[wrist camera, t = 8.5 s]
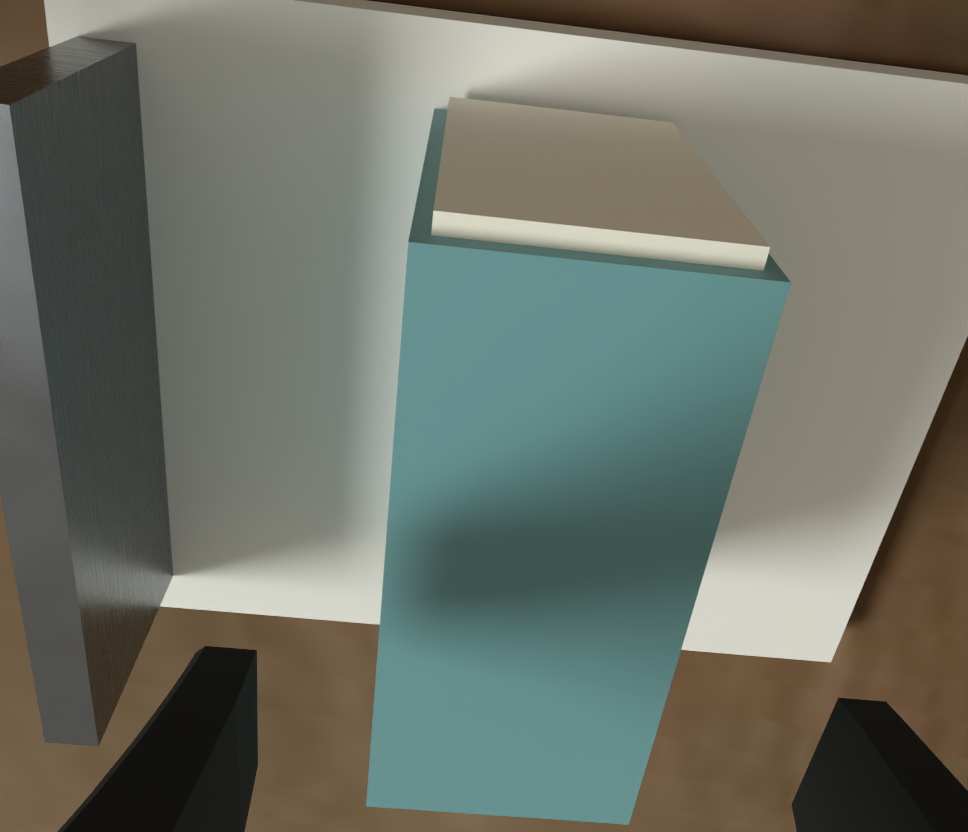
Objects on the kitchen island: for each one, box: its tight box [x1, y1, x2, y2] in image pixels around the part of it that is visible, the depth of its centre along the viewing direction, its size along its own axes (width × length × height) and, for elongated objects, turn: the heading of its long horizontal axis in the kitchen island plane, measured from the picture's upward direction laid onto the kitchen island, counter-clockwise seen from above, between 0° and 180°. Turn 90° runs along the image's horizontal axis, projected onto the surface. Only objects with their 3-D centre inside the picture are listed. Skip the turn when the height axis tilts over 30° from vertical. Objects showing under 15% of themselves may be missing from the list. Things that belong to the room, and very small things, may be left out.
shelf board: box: [44, 0, 968, 662], centre depth 20 cm, size 18×14×1 cm
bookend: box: [0, 36, 173, 746], centre depth 17 cm, size 1×12×5 cm, turn 173°
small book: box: [366, 97, 791, 824], centre depth 16 cm, size 4×10×7 cm, turn 174°
